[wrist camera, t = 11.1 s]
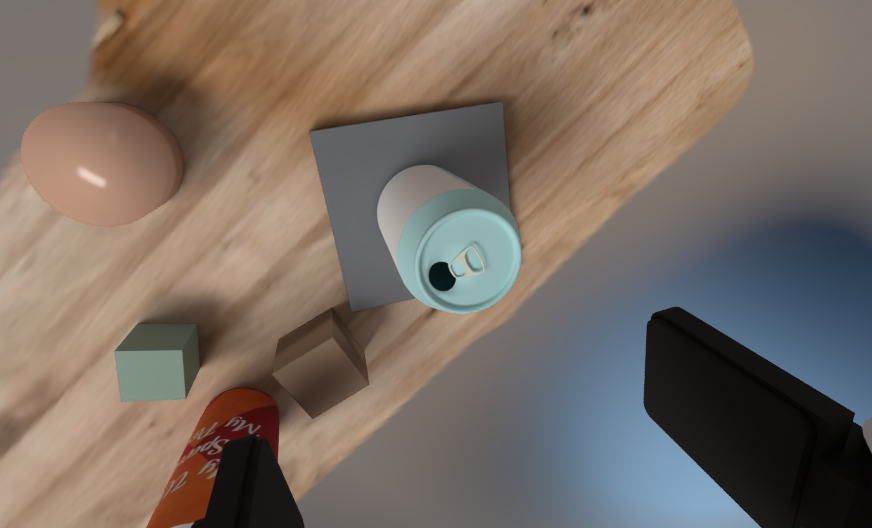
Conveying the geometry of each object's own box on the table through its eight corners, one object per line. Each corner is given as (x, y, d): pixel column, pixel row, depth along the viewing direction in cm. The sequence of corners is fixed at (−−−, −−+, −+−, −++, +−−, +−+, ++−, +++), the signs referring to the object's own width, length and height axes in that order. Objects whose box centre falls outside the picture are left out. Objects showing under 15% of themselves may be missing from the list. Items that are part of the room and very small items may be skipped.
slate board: (309, 130, 30) (309, 131, 29) (496, 101, 33) (502, 101, 32) (350, 306, 36) (351, 312, 35) (509, 270, 38) (514, 275, 37)
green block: (137, 323, 32) (114, 351, 29) (197, 323, 33) (182, 350, 30) (143, 369, 33) (121, 401, 30) (200, 367, 35) (185, 399, 31)
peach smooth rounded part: (40, 111, 27) (-6, 113, 23) (162, 94, 28) (137, 93, 24) (90, 220, 29) (56, 237, 26) (199, 200, 30) (182, 214, 27)
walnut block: (278, 339, 35) (271, 374, 31) (331, 307, 35) (332, 337, 31) (314, 380, 37) (312, 419, 33) (363, 350, 37) (369, 384, 33)
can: (442, 266, 35) (496, 340, 24) (361, 234, 32) (380, 301, 22) (481, 186, 33) (557, 227, 23) (399, 147, 31) (440, 171, 20)
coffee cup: (251, 358, 35) (204, 521, 21) (312, 420, 39) (305, 596, 25) (163, 414, 35) (60, 613, 21) (232, 472, 38) (181, 676, 25)
